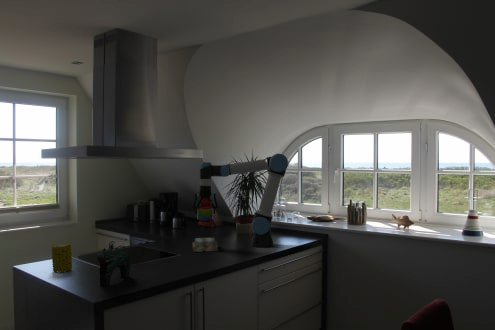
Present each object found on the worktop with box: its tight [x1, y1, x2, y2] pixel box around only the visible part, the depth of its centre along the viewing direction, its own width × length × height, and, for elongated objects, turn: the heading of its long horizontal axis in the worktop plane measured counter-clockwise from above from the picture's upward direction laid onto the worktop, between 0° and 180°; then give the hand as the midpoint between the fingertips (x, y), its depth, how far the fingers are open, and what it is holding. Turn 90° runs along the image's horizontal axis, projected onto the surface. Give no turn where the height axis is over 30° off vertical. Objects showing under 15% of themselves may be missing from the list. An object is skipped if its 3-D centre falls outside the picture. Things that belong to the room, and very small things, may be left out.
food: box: [51, 243, 73, 273], centre depth 209 cm, size 15×12×10 cm
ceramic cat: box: [97, 240, 131, 287], centre depth 190 cm, size 20×6×20 cm, turn 158°
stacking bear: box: [198, 198, 216, 226], centre depth 261 cm, size 11×10×18 cm
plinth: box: [192, 237, 219, 253], centre depth 261 cm, size 16×16×6 cm
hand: (205, 218), depth 261 cm, fingers closed on stacking bear, 9 cm apart
